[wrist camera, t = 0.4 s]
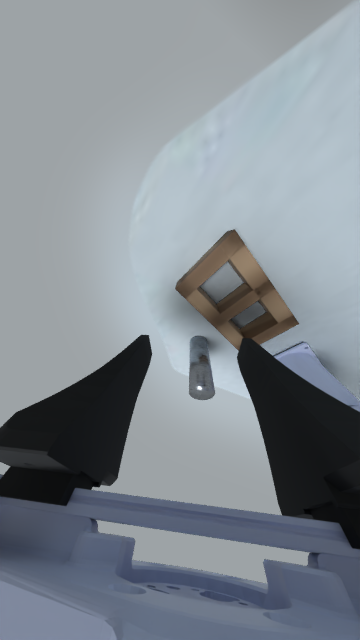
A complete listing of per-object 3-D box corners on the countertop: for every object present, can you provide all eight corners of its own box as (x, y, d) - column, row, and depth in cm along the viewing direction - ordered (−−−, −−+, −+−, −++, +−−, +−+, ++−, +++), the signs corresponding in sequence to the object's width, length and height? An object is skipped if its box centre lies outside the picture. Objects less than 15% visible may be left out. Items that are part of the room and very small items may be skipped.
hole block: (284, 312, 19) (299, 323, 16) (236, 341, 22) (242, 354, 20) (227, 231, 15) (234, 229, 12) (177, 281, 18) (175, 288, 15)
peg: (210, 343, 23) (220, 394, 15) (197, 351, 24) (200, 402, 17) (199, 332, 22) (203, 381, 14) (186, 342, 23) (183, 391, 16)
